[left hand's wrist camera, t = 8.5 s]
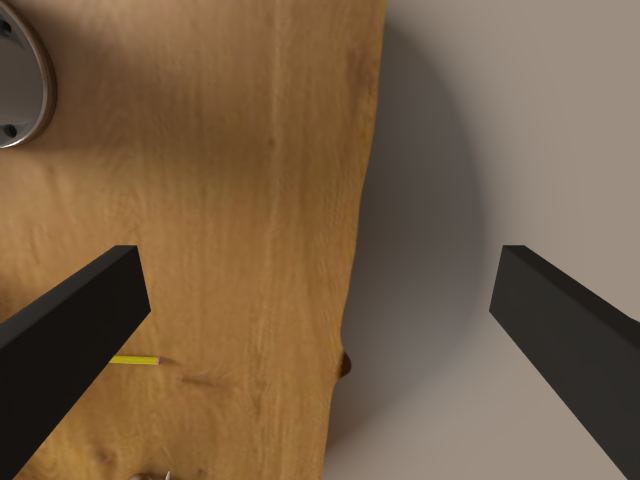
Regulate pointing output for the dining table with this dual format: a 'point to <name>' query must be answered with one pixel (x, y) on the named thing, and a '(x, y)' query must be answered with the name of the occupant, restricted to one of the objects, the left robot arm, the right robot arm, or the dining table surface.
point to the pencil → (136, 360)
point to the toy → (145, 477)
